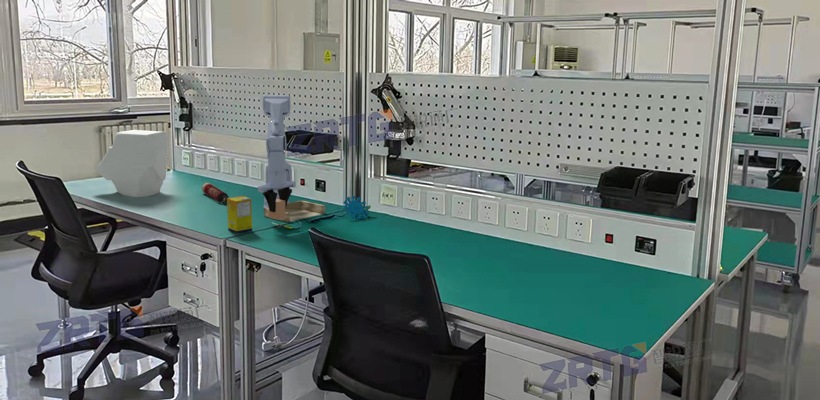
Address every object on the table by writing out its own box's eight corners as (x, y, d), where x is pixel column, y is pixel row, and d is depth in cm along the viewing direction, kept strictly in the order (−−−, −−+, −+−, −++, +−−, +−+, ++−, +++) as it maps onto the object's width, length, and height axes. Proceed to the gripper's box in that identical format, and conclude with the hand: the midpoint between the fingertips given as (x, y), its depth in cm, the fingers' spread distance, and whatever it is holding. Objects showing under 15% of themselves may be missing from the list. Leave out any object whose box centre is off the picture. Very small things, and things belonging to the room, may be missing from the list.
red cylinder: (234, 196, 251) (212, 183, 276) (223, 193, 248) (201, 179, 273) (230, 207, 251) (208, 193, 276) (219, 204, 248) (197, 190, 273)
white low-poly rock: (144, 199, 257) (140, 135, 252) (95, 193, 268) (90, 131, 262) (182, 190, 276) (179, 131, 271) (135, 184, 287) (131, 127, 281)
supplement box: (243, 227, 218) (242, 195, 215) (252, 230, 213) (251, 198, 211) (227, 230, 213) (226, 198, 211) (236, 233, 209) (235, 200, 207)
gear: (347, 217, 228) (341, 194, 233) (341, 226, 232) (335, 203, 237) (375, 218, 234) (368, 195, 239) (368, 226, 238) (362, 204, 243)
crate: (263, 217, 232) (263, 207, 231) (301, 209, 246) (301, 200, 245) (287, 223, 224) (287, 213, 223) (325, 214, 238) (325, 205, 237)
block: (268, 217, 219) (268, 200, 218) (278, 215, 222) (277, 198, 221) (276, 219, 216) (276, 202, 215) (285, 217, 219) (285, 200, 218)
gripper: (267, 175, 208) (268, 215, 210) (301, 170, 219) (301, 208, 221) (253, 172, 212) (254, 212, 215) (287, 167, 223) (288, 205, 226)
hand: (277, 210), depth 218 cm, fingers closed on block, 4 cm apart
